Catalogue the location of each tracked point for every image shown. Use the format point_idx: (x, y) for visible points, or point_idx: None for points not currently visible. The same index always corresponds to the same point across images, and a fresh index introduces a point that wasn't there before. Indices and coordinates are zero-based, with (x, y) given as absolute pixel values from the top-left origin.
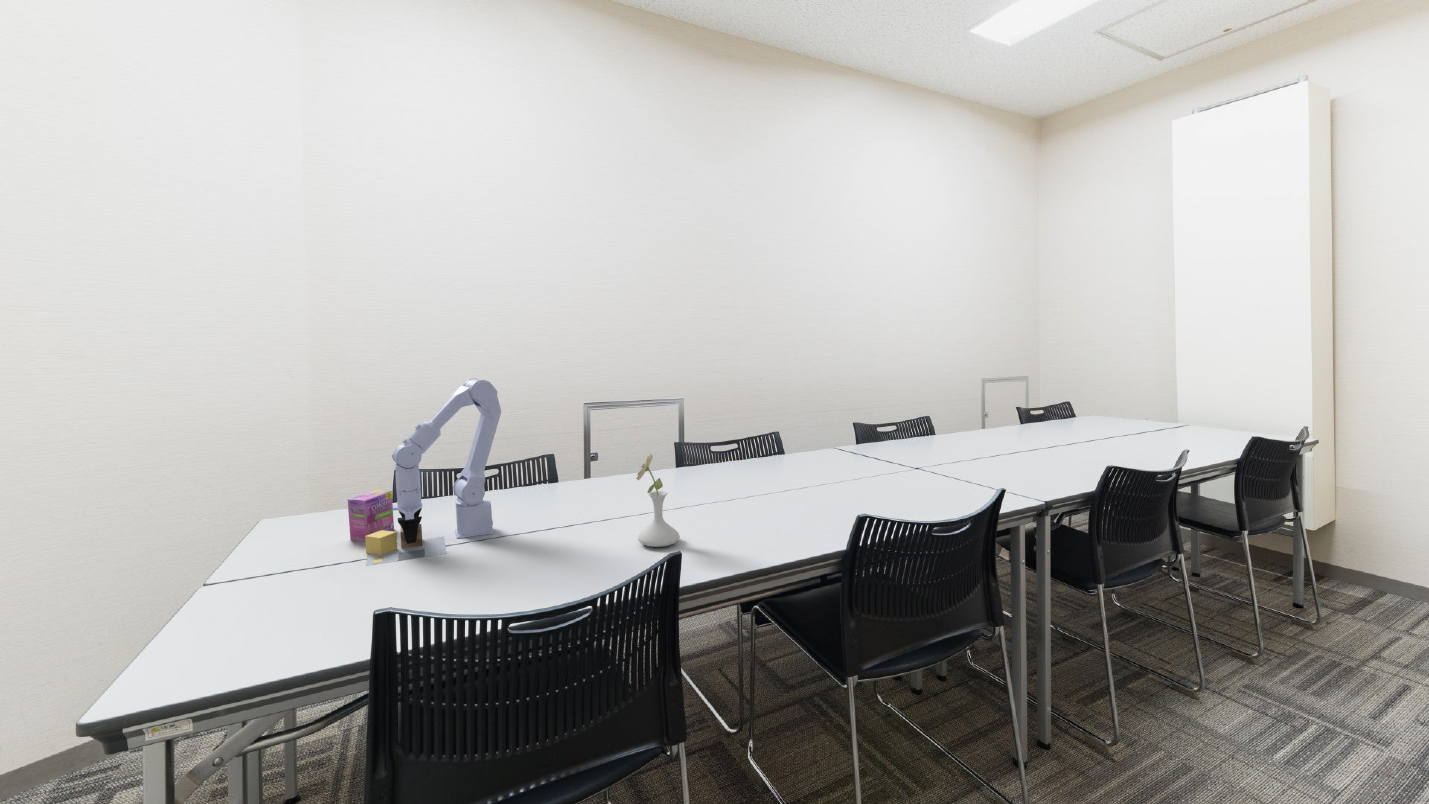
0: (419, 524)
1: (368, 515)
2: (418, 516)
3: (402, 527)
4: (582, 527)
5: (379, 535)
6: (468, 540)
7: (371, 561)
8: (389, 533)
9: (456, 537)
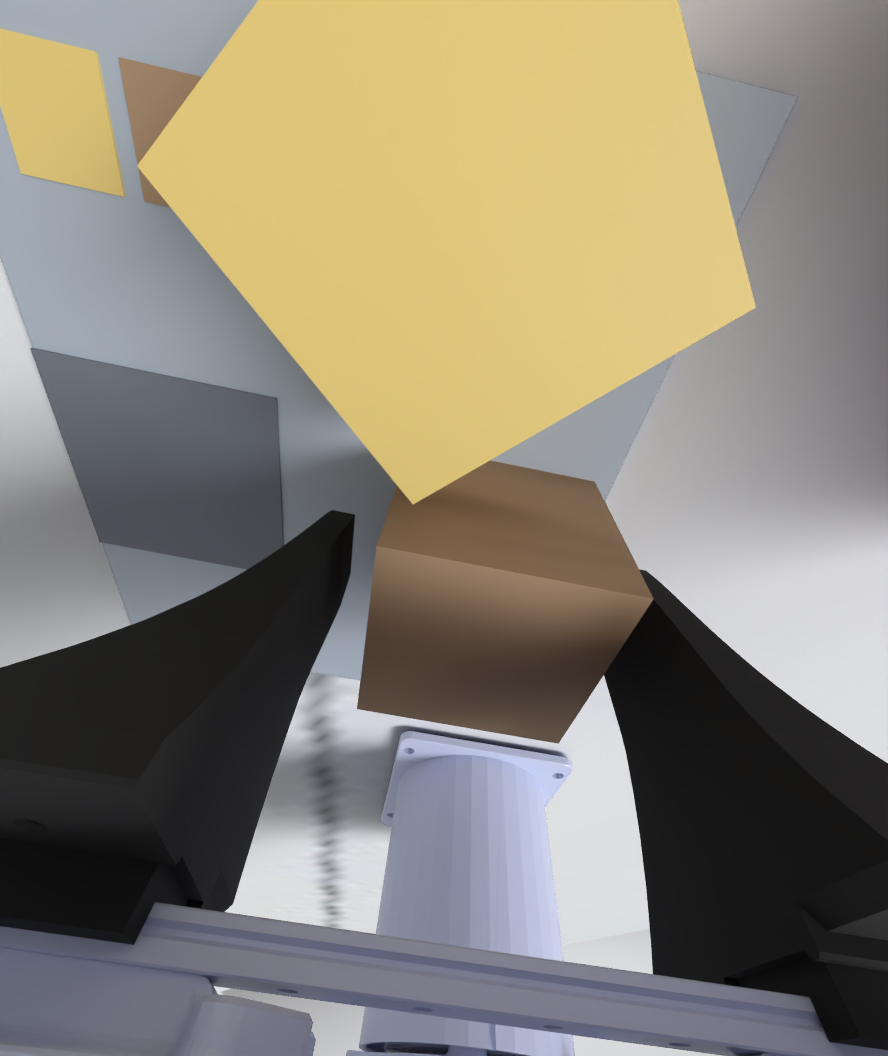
0: (553, 731)
1: None
2: (643, 828)
3: (136, 628)
4: (294, 915)
5: (355, 185)
6: (350, 747)
7: (59, 7)
8: (385, 402)
9: (416, 734)
